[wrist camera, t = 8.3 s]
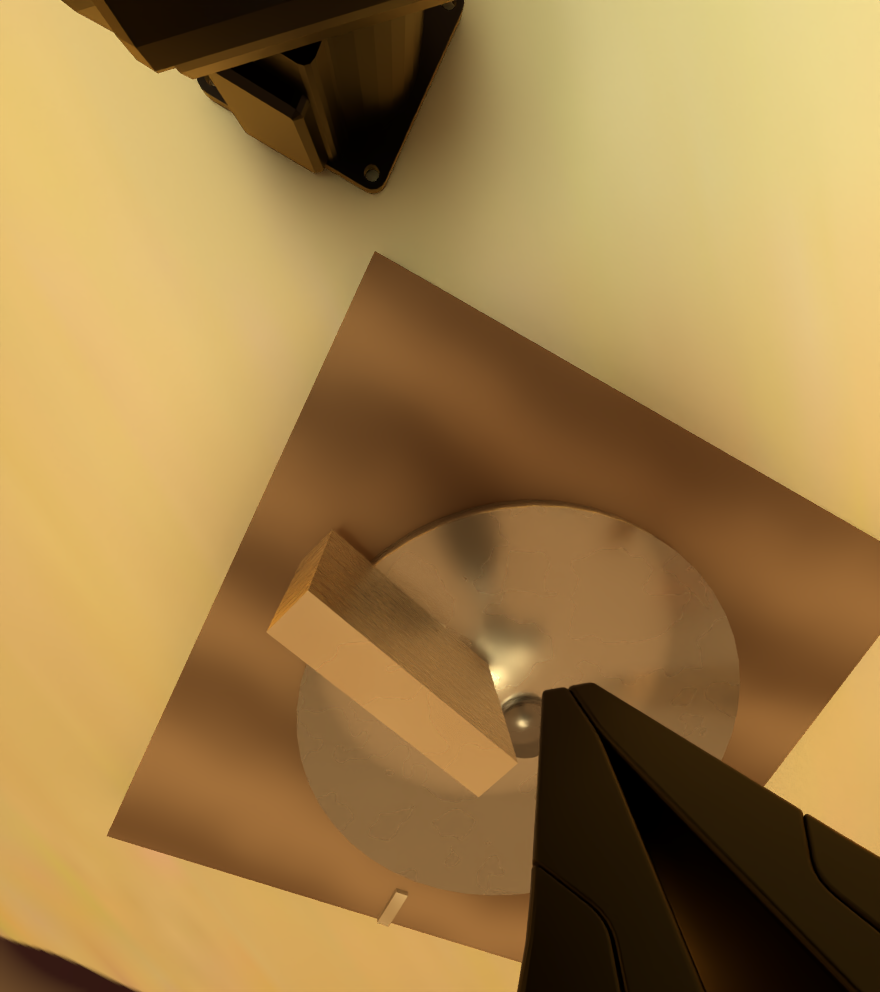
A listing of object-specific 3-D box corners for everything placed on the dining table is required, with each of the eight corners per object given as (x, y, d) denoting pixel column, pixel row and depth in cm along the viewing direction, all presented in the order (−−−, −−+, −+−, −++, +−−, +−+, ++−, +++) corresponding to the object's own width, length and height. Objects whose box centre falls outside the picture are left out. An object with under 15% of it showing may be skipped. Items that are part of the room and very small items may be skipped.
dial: (165, 693, 20) (69, 828, 14) (495, 357, 18) (543, 354, 12) (535, 952, 25) (577, 1129, 19) (826, 717, 23) (973, 837, 17)
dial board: (376, 260, 18) (374, 249, 16) (895, 557, 23) (934, 571, 21) (125, 806, 23) (104, 840, 21) (597, 956, 28) (610, 993, 26)
